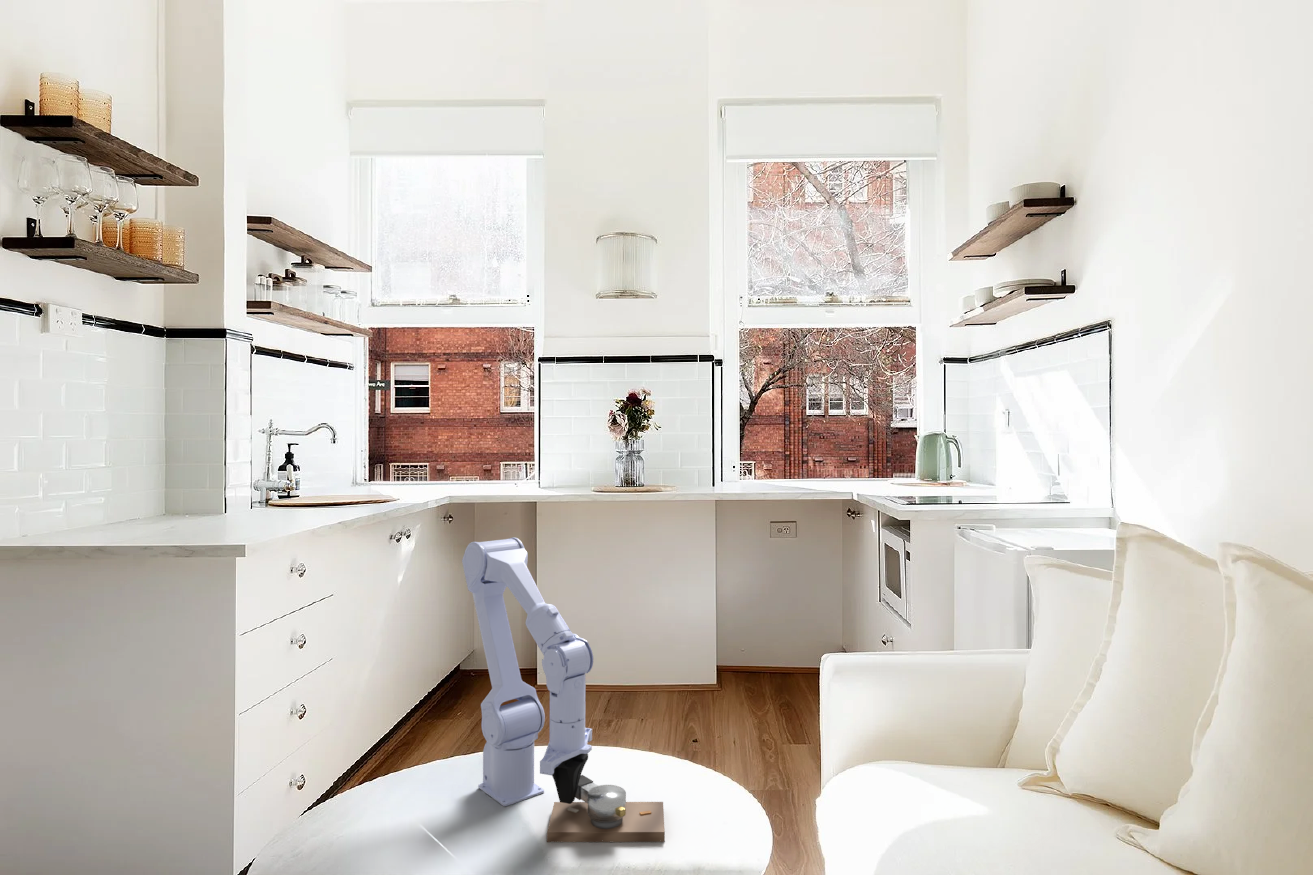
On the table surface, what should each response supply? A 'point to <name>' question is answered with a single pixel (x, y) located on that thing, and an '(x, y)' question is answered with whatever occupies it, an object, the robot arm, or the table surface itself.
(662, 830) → the mounting board
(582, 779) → the silver saucepan
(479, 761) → the table surface
